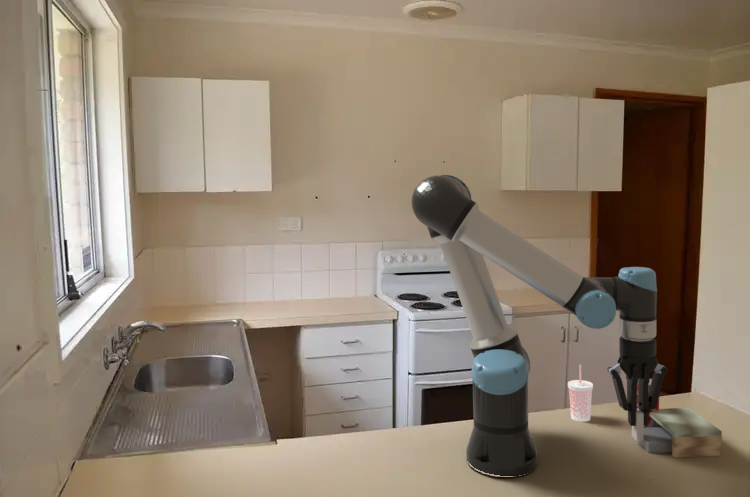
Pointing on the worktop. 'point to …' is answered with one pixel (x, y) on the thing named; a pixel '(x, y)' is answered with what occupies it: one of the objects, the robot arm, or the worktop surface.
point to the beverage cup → (580, 398)
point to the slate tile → (656, 440)
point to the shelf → (689, 432)
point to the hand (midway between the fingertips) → (637, 438)
